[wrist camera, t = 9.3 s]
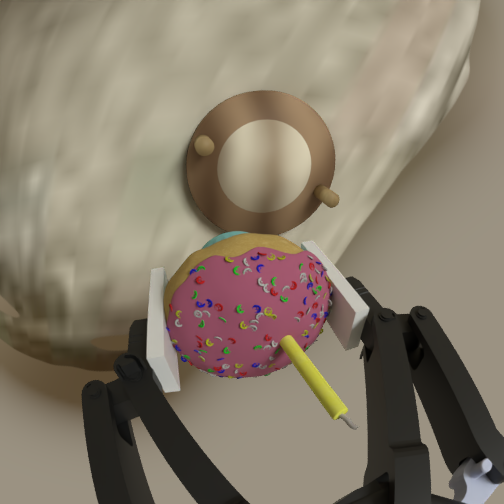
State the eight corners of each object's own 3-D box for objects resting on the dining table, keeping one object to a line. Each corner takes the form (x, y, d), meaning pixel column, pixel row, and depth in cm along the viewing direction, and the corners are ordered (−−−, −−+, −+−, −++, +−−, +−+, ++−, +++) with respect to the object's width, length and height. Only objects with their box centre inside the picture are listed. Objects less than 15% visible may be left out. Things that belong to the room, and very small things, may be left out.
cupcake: (278, 180, 16) (432, 332, 6) (308, 287, 20) (395, 428, 10) (138, 239, 15) (116, 453, 5) (199, 332, 20) (232, 492, 10)
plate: (199, 243, 32) (203, 264, 28) (175, 101, 24) (175, 100, 20) (327, 219, 35) (345, 235, 31) (326, 89, 26) (348, 89, 23)
